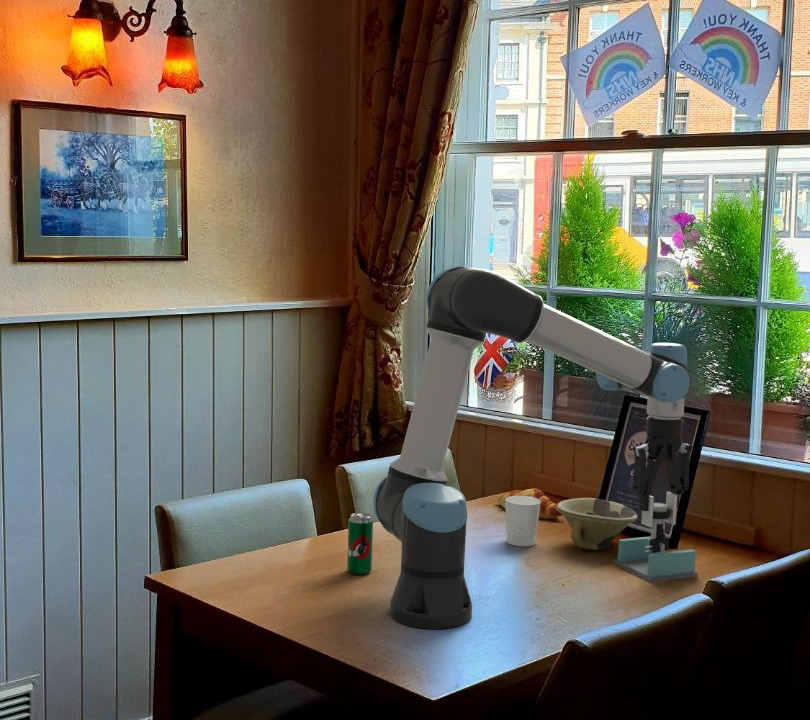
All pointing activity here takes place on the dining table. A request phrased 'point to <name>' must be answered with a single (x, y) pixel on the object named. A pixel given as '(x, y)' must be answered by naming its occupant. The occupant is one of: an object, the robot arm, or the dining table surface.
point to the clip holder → (655, 561)
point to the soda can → (360, 544)
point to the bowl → (595, 521)
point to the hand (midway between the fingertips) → (658, 524)
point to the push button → (658, 529)
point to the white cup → (522, 520)
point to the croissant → (546, 506)
